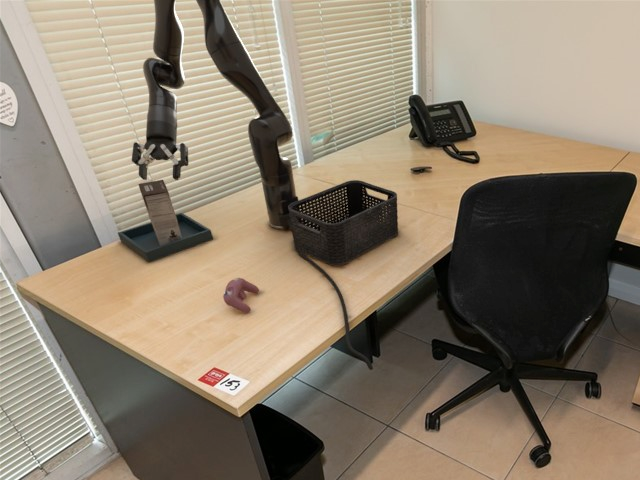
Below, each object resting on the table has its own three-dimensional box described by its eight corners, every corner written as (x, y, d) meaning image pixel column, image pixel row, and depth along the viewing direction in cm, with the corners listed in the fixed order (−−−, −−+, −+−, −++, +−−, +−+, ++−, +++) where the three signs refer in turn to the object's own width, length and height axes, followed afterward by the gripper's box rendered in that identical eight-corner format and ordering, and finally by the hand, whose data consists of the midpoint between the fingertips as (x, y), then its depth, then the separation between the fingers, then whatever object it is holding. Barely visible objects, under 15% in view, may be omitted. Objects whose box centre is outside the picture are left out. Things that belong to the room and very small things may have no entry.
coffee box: (155, 234, 152) (137, 182, 143) (179, 230, 155) (162, 178, 146) (160, 248, 146) (142, 195, 137) (185, 242, 149) (168, 190, 140)
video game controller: (246, 296, 133) (228, 276, 129) (261, 289, 132) (243, 268, 128) (236, 319, 125) (216, 298, 121) (251, 312, 124) (232, 291, 120)
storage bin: (357, 215, 170) (354, 177, 163) (403, 233, 162) (402, 192, 155) (289, 249, 151) (282, 206, 143) (337, 270, 143) (332, 226, 135)
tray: (213, 239, 153) (210, 229, 151) (149, 262, 141) (145, 252, 139) (184, 221, 161) (181, 212, 159) (121, 242, 149) (117, 232, 147)
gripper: (128, 118, 145) (125, 173, 142) (182, 119, 146) (180, 173, 144) (142, 131, 152) (139, 184, 150) (193, 132, 154) (191, 184, 151)
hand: (159, 178), depth 147 cm, fingers open, 8 cm apart
